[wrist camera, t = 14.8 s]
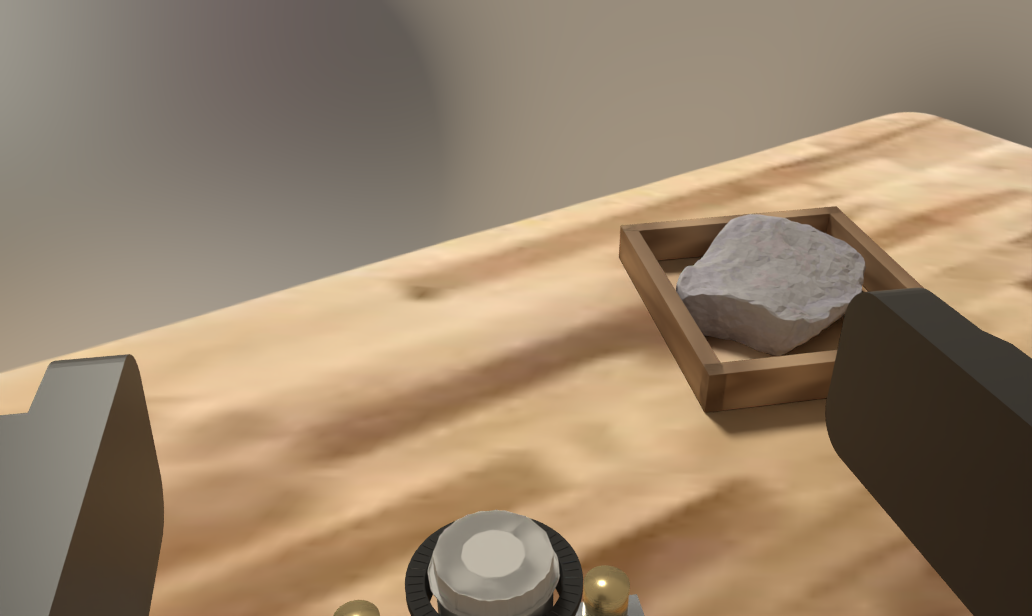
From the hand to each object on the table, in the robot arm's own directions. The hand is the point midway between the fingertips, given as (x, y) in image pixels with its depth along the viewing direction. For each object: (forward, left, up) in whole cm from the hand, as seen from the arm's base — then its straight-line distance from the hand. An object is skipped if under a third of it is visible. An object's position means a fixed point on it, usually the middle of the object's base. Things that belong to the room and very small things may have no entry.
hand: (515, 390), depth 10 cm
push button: (+1, +10, -24) cm, 27 cm away
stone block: (+23, +39, -26) cm, 53 cm away
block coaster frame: (+23, +39, -25) cm, 52 cm away
